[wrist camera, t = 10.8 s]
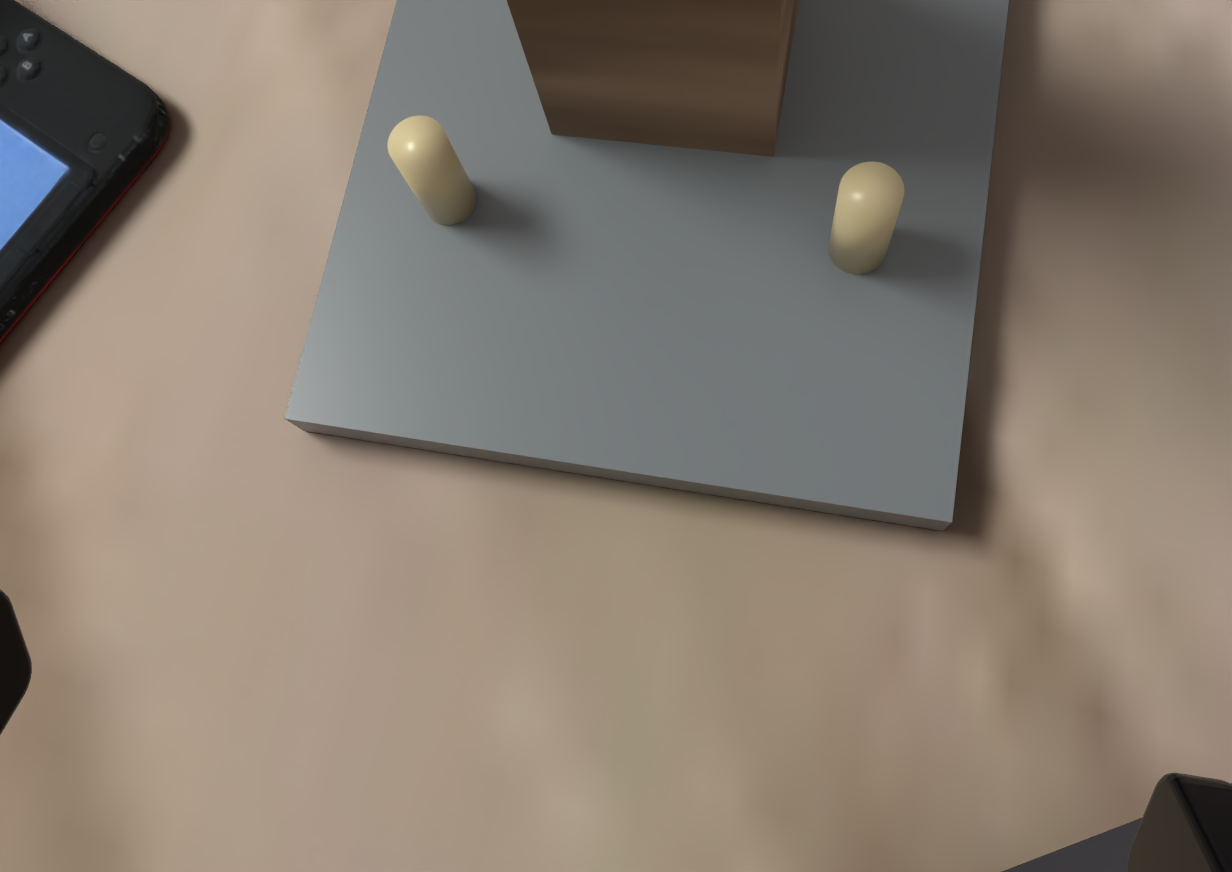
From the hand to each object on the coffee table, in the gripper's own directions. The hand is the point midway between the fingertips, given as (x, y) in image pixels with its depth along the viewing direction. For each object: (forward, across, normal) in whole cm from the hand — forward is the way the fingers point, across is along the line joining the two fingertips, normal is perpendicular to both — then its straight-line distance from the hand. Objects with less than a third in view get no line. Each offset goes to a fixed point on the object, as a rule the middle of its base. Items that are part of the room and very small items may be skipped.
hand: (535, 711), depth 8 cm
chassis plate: (+20, +2, -1) cm, 20 cm away
